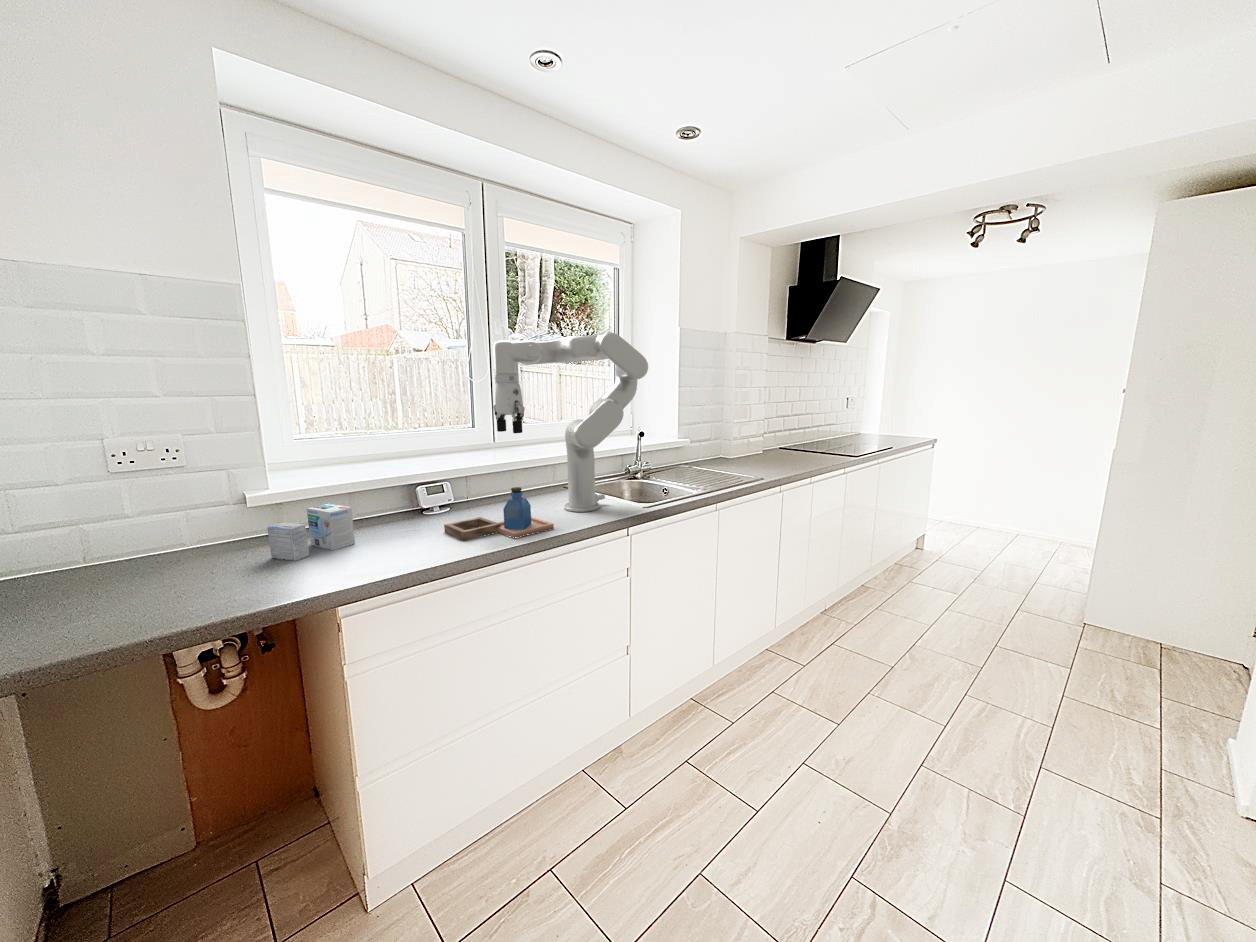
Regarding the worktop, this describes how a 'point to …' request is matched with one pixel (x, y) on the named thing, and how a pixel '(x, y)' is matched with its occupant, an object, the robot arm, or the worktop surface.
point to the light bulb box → (331, 526)
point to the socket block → (459, 527)
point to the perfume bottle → (517, 511)
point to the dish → (535, 527)
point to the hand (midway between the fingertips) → (509, 432)
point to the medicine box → (288, 541)
